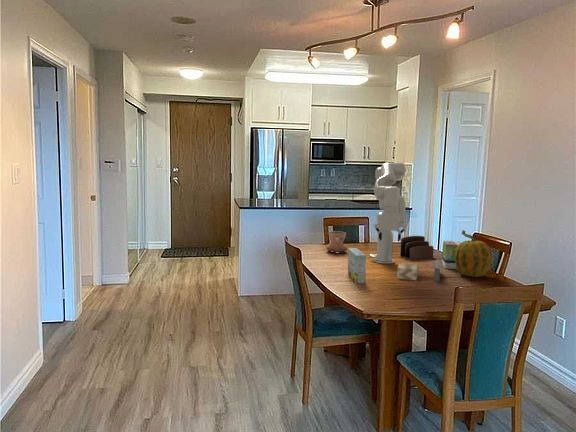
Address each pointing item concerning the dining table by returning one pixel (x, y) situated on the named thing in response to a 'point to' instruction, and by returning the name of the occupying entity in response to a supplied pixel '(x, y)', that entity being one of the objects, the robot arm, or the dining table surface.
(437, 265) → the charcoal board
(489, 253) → the pumpkin
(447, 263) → the tea box
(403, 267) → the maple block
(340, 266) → the dining table surface
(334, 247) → the brown piece
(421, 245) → the letter holder
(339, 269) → the dining table surface
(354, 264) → the snack box
